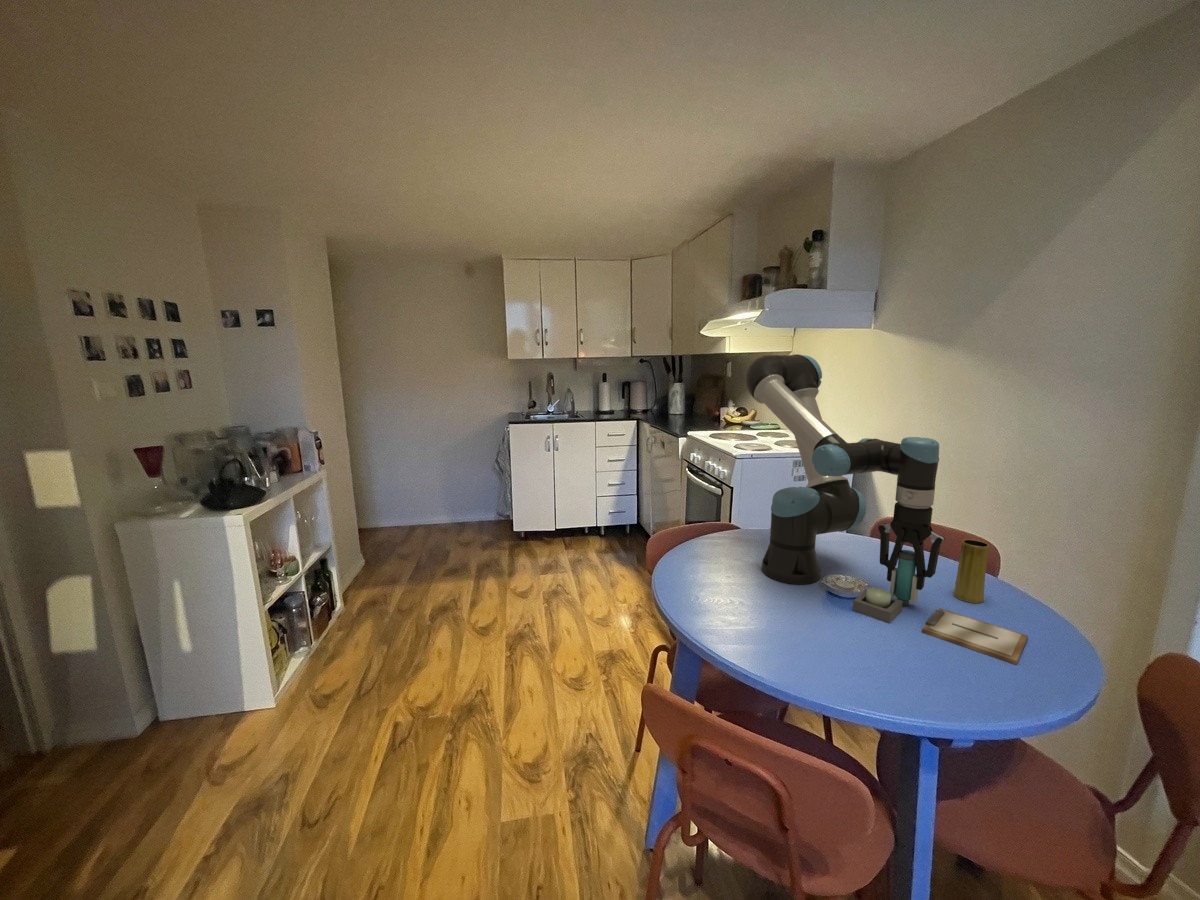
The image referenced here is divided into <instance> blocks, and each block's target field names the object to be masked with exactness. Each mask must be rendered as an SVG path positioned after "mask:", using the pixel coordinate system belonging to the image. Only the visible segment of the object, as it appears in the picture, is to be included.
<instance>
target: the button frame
mask: <svg viewBox="0 0 1200 900" xmlns="http://www.w3.org/2000/svg"><path fill="white" fill-rule="evenodd" d="M866 593H867V589H865V590H864V591H863V592H862V593H860V594H858V596H856V597H855V599H853V600H852V602H853V603H852V611H854V612H857V613H859V614H863V615H866V616H868V617H871V618H874V619H877V620H880V621H882V622H885V623H889V624H890V623H891V622H892V621H893V620H894V619H895V618H896V617H897V616H898V615H899V614H900V613H901V612H902V611H903V606H902V603H903V601H901V600H898V599H897V598H896V597H895V598H894V597H892V596H891V601H890V606H889V607H888V608H886V609H885V608H882V607H879V606H876V605H873V604H870V603H867V602H866Z"/></svg>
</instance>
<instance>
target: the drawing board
mask: <svg viewBox="0 0 1200 900" xmlns="http://www.w3.org/2000/svg"><path fill="white" fill-rule="evenodd" d="M921 633H924V634H927V635H929V636H932V637H935V638H938V639H941V640H944V641H946V642H950V643H953V644H954V645H955V644H956V645H958V646H961V647H964V648H965V649H966V648H967V649H970V650H973V651H976V652H979V653H981V654H984V655H987V656H989V657H990V656H991V657H993V658H996V659H998V660H1001V661H1004V662H1007V663H1010V664H1013V665H1015V666H1016V665H1017V664H1018V662H1019V660H1020V657H1021V655H1022V654H1023V651H1024V648H1025V647H1026V644H1027V641H1028V639H1029V635H1028V634H1026V633H1025V634H1024V633H1020V632H1018V631H1016V630H1015V631H1014V630H1011V629H1009V628H1005V627H1001V626H999V625H995V624H993V623H988V622H985V621H982V620H979V619H976V618H972V617H971V616H970V617H969V616H966V615H963V614H959V613H956V612H953V611H950V610H947V609H943V608H941V607H940V608H938V609H935V611H934V612H933V613H931V615H930V617H928V619H927V620H926V621H925V625H924V626H923V627H922V629H921Z"/></svg>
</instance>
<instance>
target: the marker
mask: <svg viewBox="0 0 1200 900" xmlns="http://www.w3.org/2000/svg"><path fill="white" fill-rule="evenodd" d="M897 568H898V569H897V579H896V588H895V595H894V596H895V598H896V599H898V600H901V601H903V603H902V607H909V605H910V599H911V590H912V581H913V576H914V575H915V574H916V562H915V553H914V550H909V549H902V550H901V551H899V559H898V562H897Z"/></svg>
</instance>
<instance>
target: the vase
mask: <svg viewBox="0 0 1200 900" xmlns="http://www.w3.org/2000/svg"><path fill="white" fill-rule="evenodd" d="M960 549H961V551H960V555H959V562H958V566H957V567H958V568H957V572H956V578H955V582H954V583H955V586H954V590H953V592H952V594H953V596H954V597H955V598H957V599H958V600H960V601H963V602H967V603H972V604H980V603H984V597H985V596H984V595H985V585H986V575H987V561H988V557H989V552H990V551H989V550H990V545H989V543H987V542H985V541H982V540H978V539H971V538H966V539H963V540H962V543H961V548H960Z"/></svg>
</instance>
